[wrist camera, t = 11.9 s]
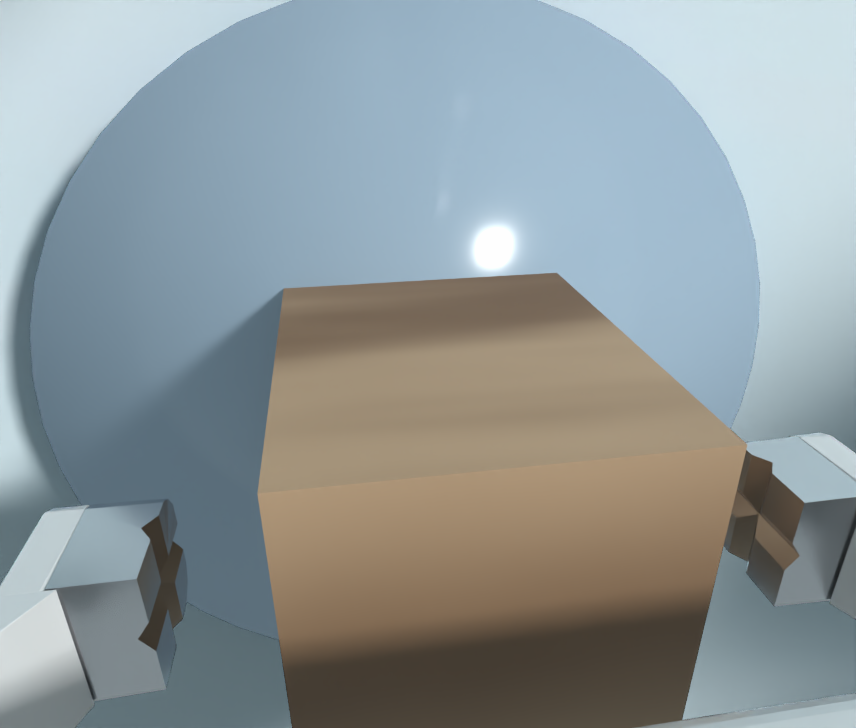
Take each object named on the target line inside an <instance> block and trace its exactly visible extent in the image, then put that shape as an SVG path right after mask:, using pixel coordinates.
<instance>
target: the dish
mask: <svg viewBox="0 0 856 728" xmlns="http://www.w3.org/2000/svg"><path fill="white" fill-rule="evenodd" d="M543 273H558V274H559V275H560V276H561V277H562V278H563V279H564V280H566V281H567V282H568V283H569V284H570V285H571V286H572V287H573V288H574V289H576V290H577V291H578V292H579V293H580V294H581V295H582V296H583V297H584V298H586V299H587V300H588V301H589V302H590V303H591V304H592V305H593V306H594V307H596V308H597V309H598V310H599V311H600V312H601V313H602V314H603V315H604V316H605V317H607V318H608V319H609V320H610V321H611V322H612V323H613V324H614V325H615V326H617V327H618V328H619V329H620V330H621V331H622V332H623V333H624V334H625V335H627V336H628V337H629V338H630V339H631V340H632V341H633V342H634V343H635V344H637V345H638V346H639V347H640V348H641V349H642V350H643V351H644V352H645V353H646V354H648V355H649V356H650V357H651V358H652V359H653V360H654V361H655V362H656V363H658V364H659V365H660V366H661V367H662V368H663V369H664V370H665V371H666V372H668V373H669V374H670V375H671V376H672V377H673V378H674V379H675V380H676V381H678V382H679V383H680V384H681V385H682V386H683V387H684V388H685V389H686V390H687V391H689V392H690V393H691V394H692V395H693V396H694V397H695V398H696V399H697V400H699V401H700V402H701V403H702V404H703V405H704V406H705V407H706V408H707V409H709V410H710V411H711V412H712V413H713V414H714V415H715V416H716V417H717V418H718V419H720V420H721V421H722V422H723V423H724V424H725V425H726V426H727V427H728V428H730V429H731V426H732V424H733V422H734V419H735V417H736V415H737V412H738V410H739V408H740V405H741V402H742V399H743V396H744V392H745V389H746V385H747V382H748V378H749V375H750V372H751V368H752V364H753V358H754V352H755V345H756V339H757V333H758V327H759V296H760V281H759V272H758V263H757V254H756V245H755V239H754V235H753V231H752V228H751V224H750V220H749V216H748V212H747V208H746V204H745V200H744V198H743V195H742V193H741V191H740V188H739V186H738V184H737V181H736V179H735V176H734V174H733V172H732V169H731V167H730V165H729V162H728V160H727V158H726V156H725V154H724V153H723V151H722V150H721V148H720V146H719V145H718V143H717V142H716V140H715V138H714V137H713V135H712V133H711V132H710V130H709V129H708V127H707V125H706V124H705V122H704V120H703V119H702V117H701V116H700V115H699V114H698V113H697V112H696V110H695V109H694V108H693V107H692V106H691V105H690V103H689V102H688V101H687V100H686V99H685V98H684V96H683V95H682V94H681V93H680V92H679V91H678V89H677V88H676V87H675V86H674V85H673V84H672V82H671V81H670V80H669V79H667V78H666V77H665V76H664V75H663V74H662V73H660V72H659V71H658V70H657V69H656V68H654V67H653V66H652V65H651V64H650V63H649V62H647V61H646V60H645V59H644V58H643V57H642V56H640V55H639V54H638V53H637V52H636V51H634V50H633V49H632V48H631V47H629V46H628V45H626V44H624V43H623V42H621V41H619V40H618V39H616V38H614V37H613V36H611V35H610V34H608V33H606V32H605V31H603V30H601V29H600V28H598V27H596V26H595V25H593V24H591V23H590V22H588V21H587V20H585V19H582V18H580V17H577V16H575V15H573V14H570V13H568V12H565V11H563V10H560V9H558V8H556V7H553V6H551V5H548V4H546V3H543V2H541V1H538V0H292V1H289V2H287V3H284V4H282V5H279V6H277V7H274V8H271V9H269V10H266V11H264V12H261V13H259V14H256V15H254V16H251V17H249V18H246V19H244V20H241V21H239V22H237V23H235V24H234V25H232V26H230V27H229V28H227V29H225V30H223V31H222V32H220V33H218V34H217V35H215V36H213V37H211V38H210V39H208V40H206V41H205V42H203V43H201V44H199V45H198V46H196V47H194V48H193V49H191V50H189V51H187V52H186V53H185V54H183V55H182V56H181V57H180V58H178V59H177V60H176V61H175V62H174V63H172V64H171V65H170V66H169V67H167V68H166V69H165V70H164V71H162V72H161V73H160V74H159V75H158V76H156V77H155V78H154V79H153V80H151V81H150V82H149V83H148V84H146V85H145V86H144V87H143V88H142V89H140V90H139V91H138V92H137V93H136V95H135V96H134V97H133V98H132V99H131V100H130V101H129V102H128V103H127V105H126V106H125V107H124V108H123V109H122V110H121V111H120V112H119V113H118V115H117V116H116V117H115V118H114V119H113V120H112V121H111V122H110V123H109V125H108V126H107V127H106V128H105V129H104V130H103V131H102V132H101V133H100V135H99V136H98V138H97V140H96V141H95V143H94V144H93V146H92V147H91V149H90V150H89V152H88V153H87V155H86V156H85V158H84V160H83V161H82V163H81V164H80V166H79V167H78V169H77V170H76V172H75V173H74V175H73V176H72V178H71V180H70V181H69V183H68V186H67V188H66V190H65V192H64V195H63V197H62V199H61V201H60V204H59V206H58V208H57V211H56V213H55V215H54V217H53V220H52V222H51V224H50V226H49V229H48V231H47V235H46V239H45V242H44V246H43V250H42V254H41V258H40V261H39V265H38V269H37V273H36V277H35V281H34V290H33V300H32V310H31V321H30V347H31V362H32V378H33V383H34V388H35V392H36V397H37V401H38V406H39V410H40V415H41V419H42V424H43V426H44V429H45V432H46V434H47V437H48V439H49V442H50V444H51V447H52V450H53V452H54V455H55V457H56V460H57V462H58V465H59V467H60V469H61V471H62V472H63V474H64V476H65V478H66V479H67V481H68V483H69V485H70V486H71V488H72V490H73V492H74V493H75V495H76V497H77V499H78V500H79V502H80V504H81V505H89V506H91V505H93V504H106V503H119V502H131V501H144V500H157V499H169V501H170V502H171V503H172V504H173V507H174V511H175V515H176V519H177V523H178V524H177V528H176V531H175V535H174V538H173V541H174V542H175V543H176V544H177V545H179V546H180V547H181V548H182V549H183V550H184V555H185V560H186V566H187V577H188V585H187V602H188V603H189V604H191V605H193V606H194V607H196V608H198V609H199V610H201V611H203V612H205V613H207V614H210V615H212V616H214V617H216V618H219V619H221V620H223V621H225V622H228V623H230V624H232V625H234V626H237V627H239V628H242V629H245V630H248V631H252V632H255V633H258V634H261V635H264V636H267V637H270V638H274V639H277V640H279V636H278V629H277V622H276V616H275V609H274V602H273V595H272V589H271V582H270V575H269V568H268V562H267V555H266V548H265V541H264V535H263V528H262V521H261V514H260V508H259V501H258V494H257V493H258V485H259V477H260V470H261V462H262V454H263V446H264V438H265V430H266V423H267V415H268V407H269V399H270V391H271V384H272V376H273V368H274V360H275V352H276V344H277V337H278V329H279V321H280V313H281V305H282V298H283V290H284V288H300V287H317V286H335V285H352V284H369V283H387V282H404V281H421V280H439V279H456V278H473V277H491V276H508V275H525V274H543Z"/></svg>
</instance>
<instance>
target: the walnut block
mask: <svg viewBox="0 0 856 728" xmlns="http://www.w3.org/2000/svg"><path fill="white" fill-rule="evenodd" d="M746 449H747V444H746V443H745V442H744V441H743V440H742V439H741V438H740V437H738V436H737V435H736V434H735V433H734V432H733V431H732V430H731V429H730V428H728V427H727V426H726V425H725V424H724V423H723V422H722V421H721V420H720V419H718V418H717V417H716V416H715V415H714V414H713V413H712V412H711V411H710V410H709V409H707V408H706V407H705V406H704V405H703V404H702V403H701V402H700V401H699V400H697V399H696V398H695V397H694V396H693V395H692V394H691V393H690V392H689V391H687V390H686V389H685V388H684V387H683V386H682V385H681V384H680V383H679V382H678V381H676V380H675V379H674V378H673V377H672V376H671V375H670V374H669V373H668V372H666V371H665V370H664V369H663V368H662V367H661V366H660V365H659V364H658V363H656V362H655V361H654V360H653V359H652V358H651V357H650V356H649V355H648V354H646V353H645V352H644V351H643V350H642V349H641V348H640V347H639V346H638V345H637V344H635V343H634V342H633V341H632V340H631V339H630V338H629V337H628V336H627V335H625V334H624V333H623V332H622V331H621V330H620V329H619V328H618V327H617V326H615V325H614V324H613V323H612V322H611V321H610V320H609V319H608V318H607V317H605V316H604V315H603V314H602V313H601V312H600V311H599V310H598V309H597V308H596V307H594V306H593V305H592V304H591V303H590V302H589V301H588V300H587V299H586V298H584V297H583V296H582V295H581V294H580V293H579V292H578V291H577V290H576V289H574V288H573V287H572V286H571V285H570V284H569V283H568V282H567V281H566V280H564V279H563V278H562V277H561V276H560V275H559V274H558V273H543V274H525V275H508V276H491V277H473V278H456V279H439V280H421V281H404V282H387V283H369V284H352V285H335V286H317V287H300V288H284V290H283V298H282V305H281V313H280V321H279V329H278V337H277V344H276V352H275V360H274V368H273V376H272V384H271V391H270V399H269V407H268V415H267V423H266V430H265V438H264V446H263V454H262V462H261V470H260V477H259V485H258V493H257V494H258V501H259V508H260V514H261V521H262V528H263V535H264V541H265V548H266V555H267V562H268V568H269V575H270V582H271V589H272V595H273V602H274V609H275V616H276V622H277V629H278V636H279V643H280V649H281V656H282V663H283V670H284V676H285V683H286V690H287V697H288V703H289V710H290V717H291V724H292V728H636V727H642V726H649V725H655V724H661V723H667V722H674V721H680V720H682V718H683V713H684V709H685V705H686V701H687V697H688V692H689V688H690V684H691V680H692V676H693V671H694V667H695V663H696V659H697V655H698V650H699V646H700V642H701V638H702V634H703V629H704V625H705V621H706V617H707V613H708V608H709V604H710V600H711V596H712V592H713V588H714V583H715V579H716V575H717V571H718V567H719V562H720V558H721V554H722V550H723V546H724V541H725V537H726V533H727V529H728V525H729V520H730V516H731V512H732V508H733V504H734V499H735V495H736V491H737V487H738V483H739V478H740V474H741V470H742V466H743V462H744V457H745V453H746Z"/></svg>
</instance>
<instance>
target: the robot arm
mask: <svg viewBox="0 0 856 728" xmlns="http://www.w3.org/2000/svg"><path fill="white" fill-rule="evenodd" d="M745 443H746V444H747V449H746V453H745V457H744V462H743V466H742V470H741V474H740V478H739V483H738V487H737V491H736V495H735V499H734V504H733V508H732V512H731V516H730V520H729V525H728V529H727V533H726V537H725V541H724V547H725V548H726V549H727V550H728V552H730V553H732V554H734V555H736V556H738V557H740V558H742V559H744V560H746V561H747V568H746V573H747V575H748V576H749V577H750V578H751V579H752V581H753V582H754V583H755V584H756V585H757V587H758V588H759V589H760V590H761V591H762V592H763V594H764V595H765V596H766V597H767V598H768V600H769V601H770V602H771V603H772V604H773V606H783V605H793V604H802V603H812V602H821V601H830V604H831V605H833V606H834V607H836V608H838V609H839V610H841V611H843V612H844V613H846V614H847V615H849V616H851V617H852V618H854V619H856V453H855V452H853V451H852V450H850V449H849V448H848V447H846V446H845V445H844V444H842V443H841V442H840V441H838V440H837V439H835V438H834V437H833V436H831V435H828V434H824V433H820V432H819V433H811V434H804V435H796V436H789V437H787V438H778V439H769V440H760V441H751V442H745ZM177 524H178V523H177V519H176V515H175V511H174V507H173V504H172V503H171V502H170V501H169V499H157V500H144V501H131V502H119V503H106V504H93V505H91V506H89V505H82V506H72V507H62V508H52V509H51V510H49V511H47V512H45V513H44V514H43V515H42V517H41V518H40V520H39V522H38V523H37V525H36V527H35V528H34V530H33V532H32V533H31V535H30V537H29V538H28V540H27V542H26V543H25V545H24V547H23V548H22V550H21V552H20V553H19V555H18V557H17V558H16V560H15V562H14V564H13V565H12V567H11V569H10V570H9V572H8V574H7V575H6V577H5V579H4V580H3V582H2V584H1V585H0V728H75V727H76V726H77V725H78V724H79V723H80V722H81V720H82V719H83V718H84V717H85V716H86V715H87V714H88V712H89V711H90V710H91V709H92V708H93V707H94V701H99V700H105V699H111V698H117V697H124V696H130V695H136V694H142V693H148V692H154V691H160V690H166V688H167V684H168V680H169V675H170V671H171V667H172V663H173V659H174V655H175V650H176V641H175V637H174V633H173V628H174V627H175V626H176V625H177V624H178V623H179V622H180V621H181V620H182V619H183V616H184V611H185V607H186V602H187V585H188V577H187V566H186V560H185V555H184V550H183V549H182V548H181V547H180V546H179V545H177V544H176V543H175V542H174V541H173V538H174V535H175V531H176V528H177ZM636 728H856V693H851V694H844V695H838V696H832V697H825V698H819V699H813V700H806V701H800V702H794V703H787V704H781V705H775V706H768V707H762V708H756V709H749V710H743V711H737V712H730V713H724V714H718V715H711V716H705V717H699V718H693V719H686V720H680V721H674V722H667V723H661V724H655V725H649V726H642V727H636Z"/></svg>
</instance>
